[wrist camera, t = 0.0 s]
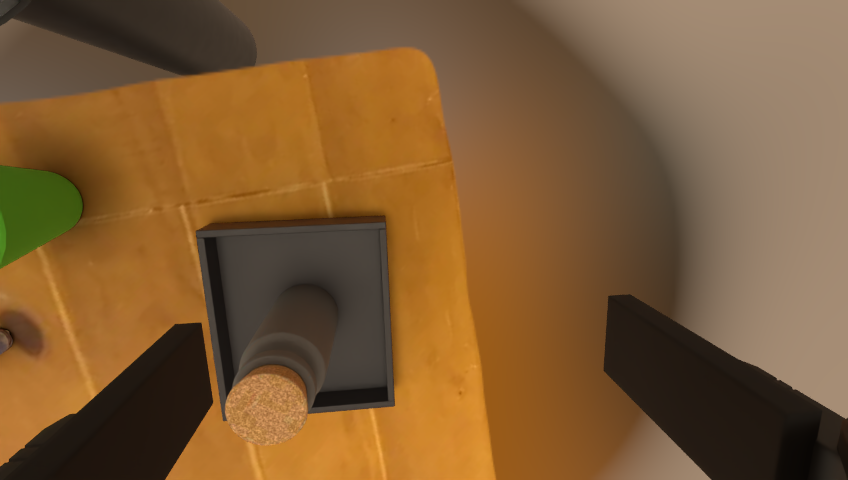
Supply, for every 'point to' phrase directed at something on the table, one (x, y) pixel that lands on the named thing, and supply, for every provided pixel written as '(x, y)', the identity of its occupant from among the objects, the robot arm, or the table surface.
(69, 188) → the cup
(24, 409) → the table surface
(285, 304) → the bottle
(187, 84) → the table surface
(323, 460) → the table surface
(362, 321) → the baking tray
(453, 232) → the table surface
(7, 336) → the flask
